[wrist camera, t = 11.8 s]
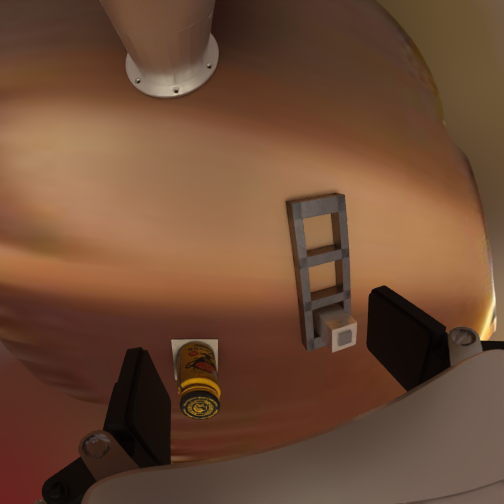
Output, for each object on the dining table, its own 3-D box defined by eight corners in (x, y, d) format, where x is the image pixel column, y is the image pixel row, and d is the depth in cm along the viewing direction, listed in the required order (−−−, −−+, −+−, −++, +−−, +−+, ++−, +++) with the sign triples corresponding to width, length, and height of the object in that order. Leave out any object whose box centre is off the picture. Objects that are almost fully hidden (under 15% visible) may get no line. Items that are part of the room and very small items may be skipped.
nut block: (310, 305, 44) (333, 331, 36) (332, 299, 44) (358, 323, 36) (311, 325, 45) (333, 354, 37) (333, 319, 46) (356, 345, 38)
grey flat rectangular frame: (285, 201, 38) (291, 203, 36) (336, 193, 39) (344, 194, 37) (302, 343, 46) (307, 351, 43) (343, 329, 47) (350, 337, 44)
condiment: (217, 338, 42) (227, 390, 31) (217, 378, 44) (226, 430, 33) (171, 338, 41) (167, 391, 29) (175, 378, 43) (174, 431, 32)
